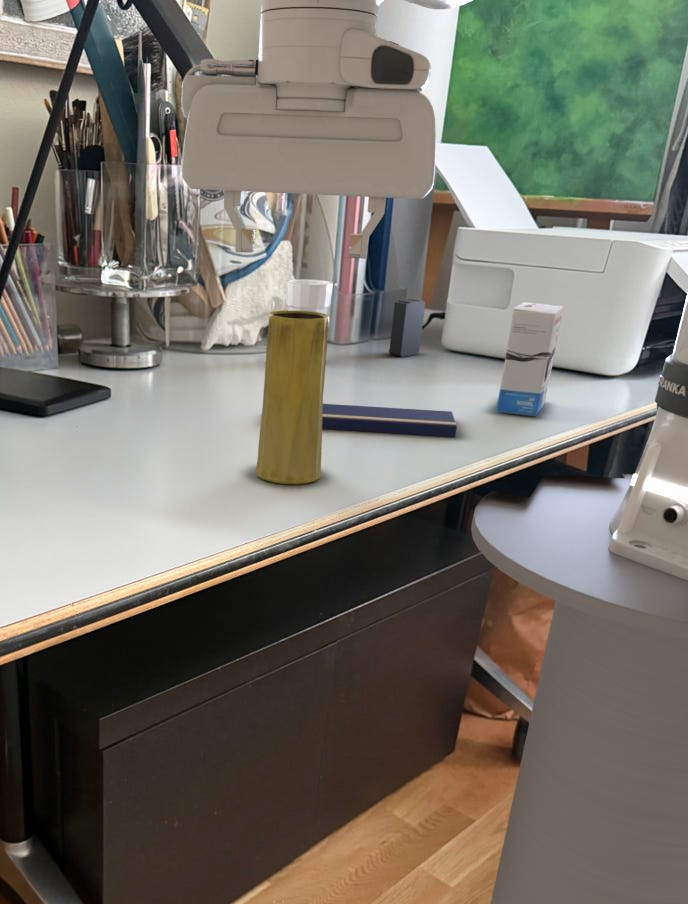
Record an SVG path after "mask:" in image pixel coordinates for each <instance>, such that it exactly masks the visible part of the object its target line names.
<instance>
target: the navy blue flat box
mask: <svg viewBox="0 0 688 904" xmlns="http://www.w3.org/2000/svg"><path fill="white" fill-rule="evenodd" d="M457 428H458V424H457V422H456V419H455V417H454V414H453V412H452V411H451V410H449V411H448V410H433V409H432V410H431V409H418V408H401V407H382V406H367V405H351V404H350V405H349V404H337V403H336V404H335V403H323V408H322V430H337V431H338V430H339V431H350V432H351V431H352V432H353V431H354V432H367V433H368V432H369V433H383V434H400V435H415V436H430V437H431V436H432V437H446V438H456V436H457Z"/></svg>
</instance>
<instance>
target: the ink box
mask: <svg viewBox="0 0 688 904" xmlns="http://www.w3.org/2000/svg"><path fill="white" fill-rule="evenodd" d="M564 308H565V307H564V306H563V305H556V304H546V303H538V302H537V303H536V302H528V301H526V302H525V301H523V302H522V303H520V304H518V305H516V306H514V307H513V311H512V315H511V322H510V327H509V334H508V339H507V346H506V351H505V358H504V363H503V369H502V374H501V380H500V381H501V382H500V386H499V392H498V397H497V403H496V409H495V412H496V413H504V414H512V415H519V416H529V417H537V416H538V414H539V413H540V411H541V409H542V408H543V407H544V405H545V404H546V400H547V393H548V388H549V384H550V379H551V374H552V369H553V364H554V358H555V353H556V348H557V342H558V337H559V332H560V326H561V321H562V318H563V317H562V316H563V312H564Z"/></svg>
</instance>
